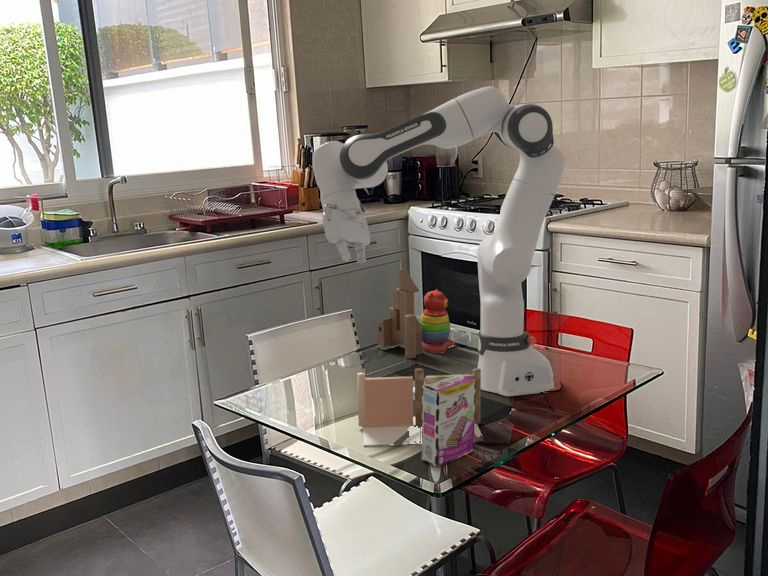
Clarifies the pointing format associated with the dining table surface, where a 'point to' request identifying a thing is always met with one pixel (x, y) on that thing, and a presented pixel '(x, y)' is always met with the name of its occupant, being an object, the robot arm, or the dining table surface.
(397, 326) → the wooden toy
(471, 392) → the candy bar box
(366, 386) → the swing panel
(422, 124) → the robot arm
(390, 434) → the card
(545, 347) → the dining table surface
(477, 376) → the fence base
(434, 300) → the stacking bear
